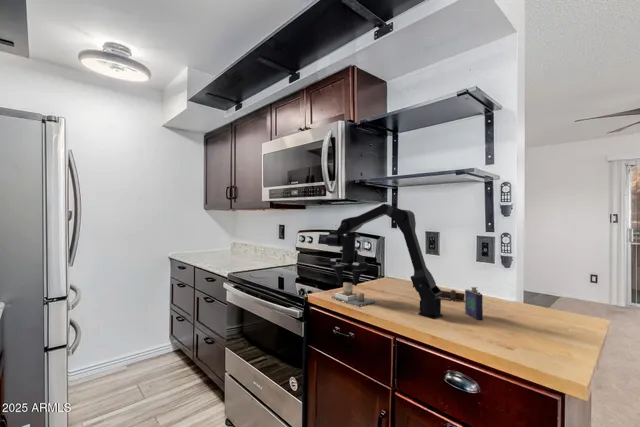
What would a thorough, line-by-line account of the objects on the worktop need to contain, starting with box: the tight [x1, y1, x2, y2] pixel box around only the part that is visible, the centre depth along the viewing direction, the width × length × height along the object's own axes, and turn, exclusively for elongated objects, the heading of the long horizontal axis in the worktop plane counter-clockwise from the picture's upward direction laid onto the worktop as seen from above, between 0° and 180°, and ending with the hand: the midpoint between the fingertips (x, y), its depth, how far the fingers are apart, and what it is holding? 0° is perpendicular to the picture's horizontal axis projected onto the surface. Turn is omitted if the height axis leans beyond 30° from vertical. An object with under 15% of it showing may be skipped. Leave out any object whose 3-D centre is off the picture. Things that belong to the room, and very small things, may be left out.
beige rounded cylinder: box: [342, 281, 354, 296], centre depth 134 cm, size 4×4×6 cm
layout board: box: [331, 291, 376, 307], centre depth 132 cm, size 16×10×4 cm, turn 38°
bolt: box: [440, 289, 465, 302], centre depth 137 cm, size 6×5×15 cm
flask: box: [464, 286, 484, 322], centre depth 112 cm, size 9×3×11 cm, turn 4°
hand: (348, 283), depth 134 cm, fingers open, 9 cm apart
